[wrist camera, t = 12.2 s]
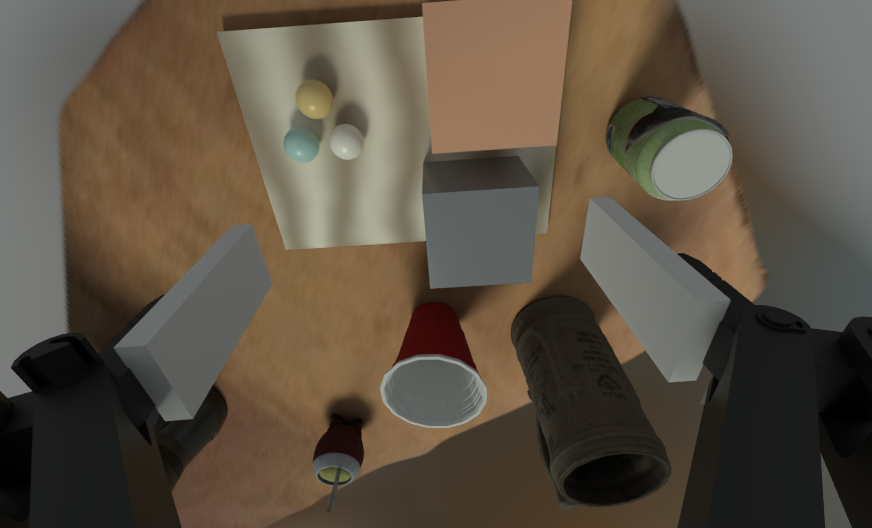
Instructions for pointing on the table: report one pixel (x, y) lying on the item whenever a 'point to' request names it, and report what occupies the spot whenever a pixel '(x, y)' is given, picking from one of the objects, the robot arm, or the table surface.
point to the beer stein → (585, 409)
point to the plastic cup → (434, 372)
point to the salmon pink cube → (495, 72)
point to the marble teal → (301, 144)
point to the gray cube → (479, 221)
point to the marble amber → (314, 99)
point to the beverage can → (669, 148)
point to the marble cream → (346, 141)
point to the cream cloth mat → (361, 107)
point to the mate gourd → (339, 454)
